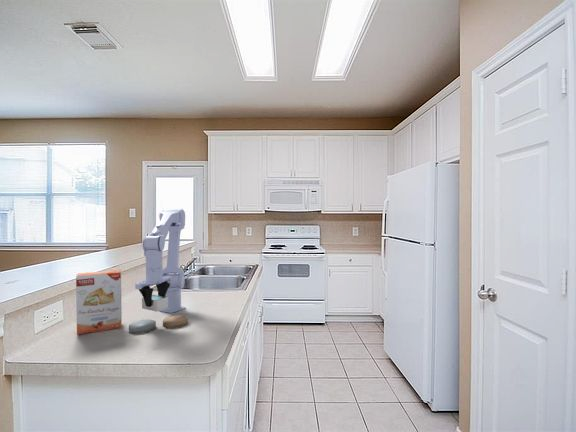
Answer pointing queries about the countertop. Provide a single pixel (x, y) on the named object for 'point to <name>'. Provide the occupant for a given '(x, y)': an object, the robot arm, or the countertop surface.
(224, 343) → the countertop surface
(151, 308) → the white and teal box
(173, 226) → the robot arm
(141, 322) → the grey stand
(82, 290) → the cracker box
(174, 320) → the walnut stand
